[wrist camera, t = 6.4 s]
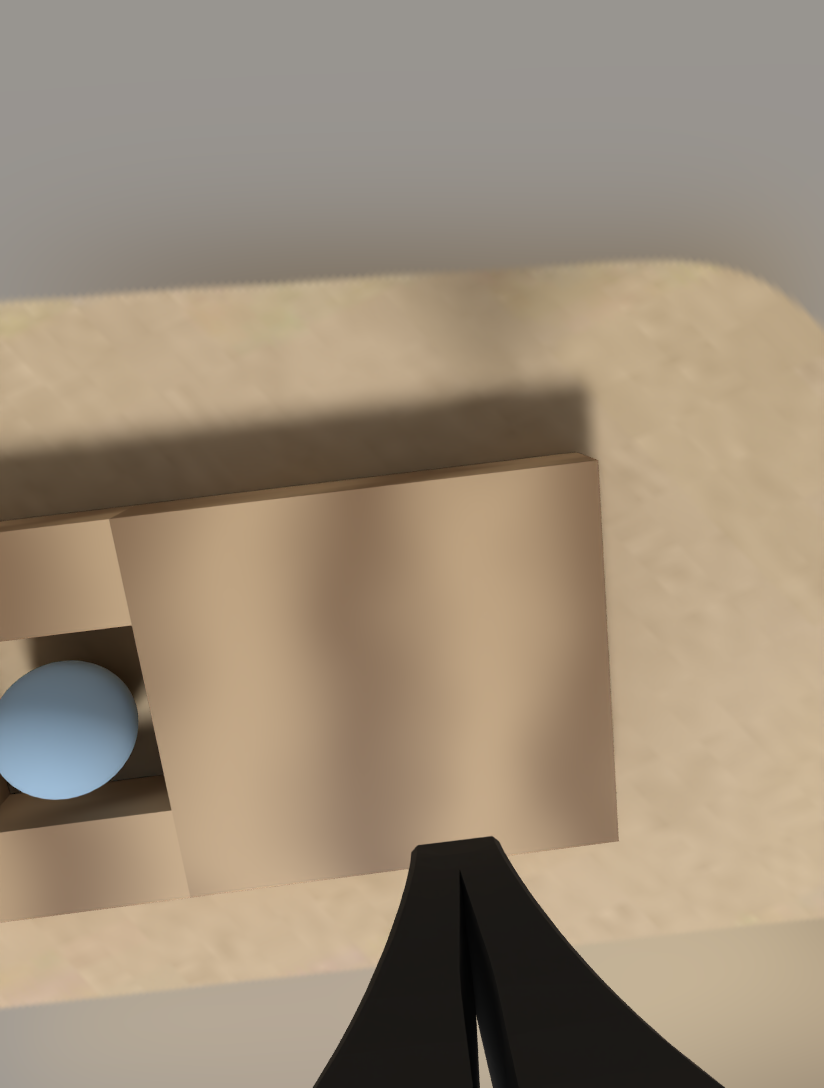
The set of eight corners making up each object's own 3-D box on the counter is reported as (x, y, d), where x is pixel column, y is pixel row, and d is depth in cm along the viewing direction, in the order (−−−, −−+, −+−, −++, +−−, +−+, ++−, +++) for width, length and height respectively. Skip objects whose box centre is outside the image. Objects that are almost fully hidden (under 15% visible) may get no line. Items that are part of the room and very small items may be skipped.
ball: (-53, 683, 19) (78, 634, 21) (-18, 806, 19) (104, 743, 22) (15, 707, 16) (151, 650, 19) (52, 845, 17) (176, 770, 20)
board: (576, 452, 20) (617, 467, 17) (598, 801, 23) (637, 876, 19) (-222, 547, 20) (-348, 584, 16) (-109, 893, 22) (-196, 987, 19)
